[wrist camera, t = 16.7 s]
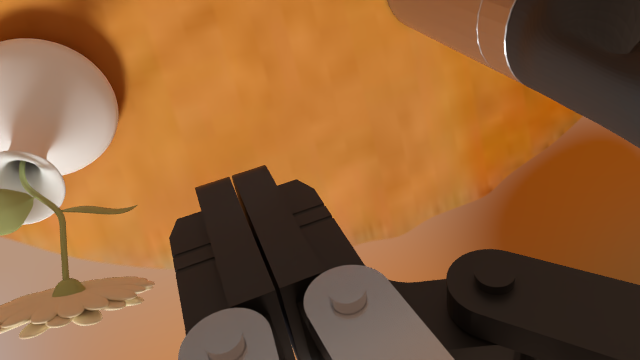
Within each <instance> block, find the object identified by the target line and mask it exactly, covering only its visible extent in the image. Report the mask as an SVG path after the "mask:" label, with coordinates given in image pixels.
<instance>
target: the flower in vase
mask: <svg viewBox="0 0 640 360" xmlns="http://www.w3.org/2000/svg"><path fill="white" fill-rule="evenodd" d="M118 114H119V112H118V104H117V100H116V96H115V93H114V91H113V89H112V86H111V85H110V83H109V81H108V80H107V78H106V77H105V76H104V74H103V73H102V72H101V71H100V69H99V68H98V67H96V66H95V65H94V64H93V63H92V62H91V61H90V60H88V59H87V58H86V57H85V56H83V55H81V54H80V53H78V52H76V51H75V50H73V49H71V48H68V47H66V46H64V45H61V44H58V43H55V42H51V41H47V40H42V39H33V38H18V39H10V40H5V41H1V42H0V235H6V234H10V233H12V232H14V231H16V230H18V229H19V228H20V227H21V225H24V224H31V223H36V222H39V221H42V220H44V219H46V218H48V217H49V216H51V215H52V214H54V213H56V215H57V217H58V219H59V224H60V243H61V260H62V276H63V280H62V281H61V282H59V283H58V285H57V286H56V287H55V288H52V289H48V290H45V291H42V292H37V293H32V294H28V295H25V296H22V297H20V298H17V299H14V300H12V301H11V302H8V303H5V304H3V305H0V334H1V333H4V332H6V331H9V330H11V329H14V328H16V327H19V326H21V325H23V324H26V323H28V322H31V323H30V324H28V325H27V326H26V327H25V328H24V329H23V330H22V331H21V332H20V334H19V338H21V339H28V338H32V337H35V336H38V335H40V334H41V333H43V332H45V331H46V330H47V329H49V328H58V327H62V326H65V325H67V324H69V323H70V322H71V321H73V322H74V323H76V324H78V325H81V326H87V325H92V324H95V323H98V322H100V321H101V320H102V314H101V312H100V311H99V309H101V310H118V309H121V308H124V307H125V306H130V305H131V306H132V305H137V304H140V303H142V302H143V301H144V299H143V298H141V297H137V294H138V293H142V292H145V291H146V290H150V289H152V288H153V285H154V282H151V281H148V280H147V279H145V278H138V277H112V278H104V279H96V280H90V281H85V282H79V281H78V280H76V279H72V278H69V270H68V256H67V239H66V222H65V217H64V214H63V213H62V212H81V213H95V214H121V213H125V212H128V211H130V210H132V209H133V208H135V207H136V206H137V205H136V206H132V207H128V208H123V209H111V208H103V207H96V206H79V207H73V208H69V209H65V210H61V209H60V208H59V207H60V206H61V204H62V202H63V200H64V197H65V192H66V190H65V182H64V179H63V177H62V175H66V174H69V173H72V172H75V171H77V170H80V169H82V168H84V167H85V166H87V165H89V164H90V163H92V162H93V161H94V160H96V159H97V158H98V157H100V155H101V154H102V153H103V152H104V151H105V150H106V149H107V148H108V146H109V145H110V143H111V141H112V139H113V138H114V135H115V132H116V130H117V125H118Z"/></svg>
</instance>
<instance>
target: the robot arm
mask: <svg viewBox="0 0 640 360" xmlns="http://www.w3.org/2000/svg"><path fill="white" fill-rule="evenodd" d="M387 1H388V4H389V7H390V8H391V10H392V12H393V14H394V15H395V16H396V17H397V18H398V19H399V21H401V22H402V23H404V24H405V25H407V26H409V27H411V28H413V29H415V30H417V31H419V32H421V33H423V34H424V35H426V36H428V37H430V38H432V39H434V40H436V41H438V42H440V43H442V44H444V45H446V46H448V47H450V48H452V49H454V50H456V51H458V52H460V53H462V54H464V55H466V56H468V57H470V58H472V59H474V60H476V61H478V62H480V63H482V64H484V65H486V66H488V67H490V68H492V69H494V70H496V71H498V72H500V73H502V74H504V75H506V76H508V77H510V78H512V79H514V80H516V81H518V82H520V83H522V84H524V85H526V86H527V87H529V88H531V89H533V90H535V91H537V92H539V93H541V94H543V95H545V96H547V97H549V98H551V99H553V100H554V101H556V102H558V103H560V104H562V105H564V106H565V107H567V108H569V109H571V110H573V111H575V112H577V113H579V114H581V115H583V116H584V117H586V118H589V119H590V120H592V121H594V122H596V123H598V124H600V125H602V126H603V127H605V128H606V129H609V130H610V131H612V132H613V133H616V134H617V135H619V136H621V137H622V138H624V139H626V140H627V141H629V142H631V143H632V144H634V145H635V146H637V147H639V148H640V0H387ZM232 179H233V183H234V186H235V190H236V192H235V190H234V187H233V185H232V182H231V180H230V178H229V177H227V178H224V179H221V180H217V181H214V182H211V183H208V184H205V185H202V186H199V187H196V188H195V190H196V193H197V197H198V200H199V204H200V207H201V212H198V213H195V214H192V215H189V216H186V217H183V218H179V219H177V221H176V223H175V226H174V228H173V230H172V233H171V235H170V238H169V239H170V245H171V250H172V256H173V262H174V268H175V272H176V279H177V285H178V290H179V296H180V302H181V308H182V313H183V319H184V324H185V330H186V337H185V339H184V340H183V342H182V344H181V347H180V350H179V357H178V360H295V357H294V353H295V355H296V358H297V360H640V285H637V284H633V283H629V282H625V281H621V280H617V279H613V278H609V277H605V276H601V275H598V274H594V273H590V272H585V271H582V270H578V269H574V268H570V267H566V266H562V265H558V264H554V263H551V262H546V261H543V260H539V259H535V258H531V257H527V256H523V255H519V254H515V253H511V252H507V251H502V250H494V249H487V250H486V249H484V250H477V251H473V252H469V253H467V254H465V255H462V256H461V257H459V258H458V259H457V260H455V262H453V263H452V265H451V266H450V268H449V270H448V273H447V278H446V279H442V280H433V281H424V282H413V283H405V282H396V281H391V280H388V279H387V278H386V277H385V276H384V275H383V274H381V273H380V272H378V271H377V270H375V269H372V268H369V267H366V266H365V265H364V264H363V262H362V261H361V259H360V258H359V256H358V255H357V253H356V251H355V250H354V248H353V247H352V245H351V244H350V242H349V241H348V239H347V238H346V236H345V235H344V233H343V232H342V230H341V229H340V227H339V226H338V224H337V223H336V221H335V220H334V218H332V215H331V214H330V212H329V211H328V209H327V208H326V206H324V203H323V202H322V200H321V199H320V197H319V196H318V194H317V192H316V191H315V189H314V188H312V187H310V186H308V185H306V184H304V183H302V182H300V181H298V180H297V179H296V180H293V181H290V182H287V183H284V184H281V185H278V186H277V185H276V183H275V181H274V180H273V178H272V176H271V174H270V172H269V170H268V169H267V167H266V166H265V165H264V166H260V167H257V168H254V169H251V170H248V171H245V172H242V173H239V174H236V175H233V176H232ZM236 193H237V195H236ZM237 196H238V197H237ZM238 199H239V200H238ZM291 345H292V346H291ZM292 348H293V349H292ZM293 350H294V353H293Z"/></svg>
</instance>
